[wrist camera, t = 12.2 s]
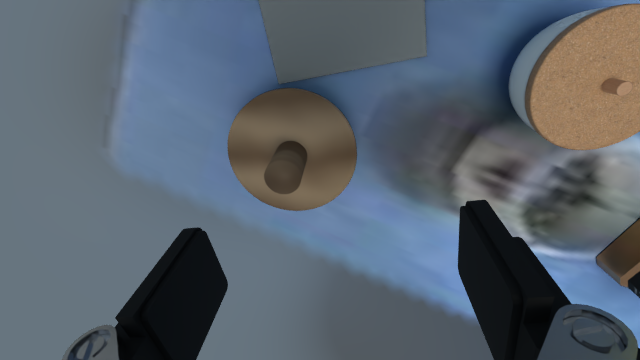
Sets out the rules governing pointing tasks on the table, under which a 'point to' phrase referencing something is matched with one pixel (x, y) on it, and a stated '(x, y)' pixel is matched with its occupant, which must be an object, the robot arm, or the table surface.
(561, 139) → the lidded jar
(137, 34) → the table surface
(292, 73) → the slate mat
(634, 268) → the whiskey bottle
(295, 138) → the walnut lid
